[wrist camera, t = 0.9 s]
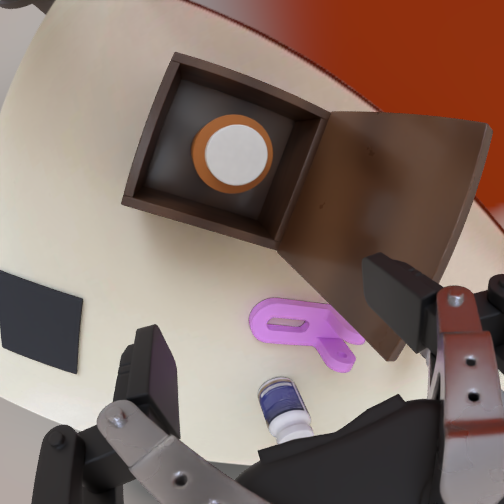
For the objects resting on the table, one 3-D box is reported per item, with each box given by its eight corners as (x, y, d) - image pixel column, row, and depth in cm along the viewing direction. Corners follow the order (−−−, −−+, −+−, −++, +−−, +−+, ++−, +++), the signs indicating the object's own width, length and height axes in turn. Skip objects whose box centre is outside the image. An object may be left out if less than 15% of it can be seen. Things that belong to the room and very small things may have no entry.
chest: (134, 190, 29) (120, 204, 23) (176, 71, 26) (174, 51, 19) (259, 227, 34) (278, 251, 27) (301, 117, 30) (332, 113, 24)
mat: (3, 345, 31) (2, 347, 31) (-1, 269, 28) (-2, 271, 28) (77, 372, 35) (76, 374, 35) (83, 298, 32) (81, 300, 32)
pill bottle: (248, 394, 42) (265, 448, 33) (276, 370, 41) (298, 423, 32) (276, 407, 44) (295, 456, 35) (302, 384, 43) (327, 433, 34)
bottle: (182, 168, 29) (181, 183, 19) (202, 114, 28) (211, 100, 18) (236, 185, 31) (262, 208, 21) (256, 133, 29) (292, 131, 19)
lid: (386, 362, 14) (395, 361, 14) (487, 122, 10) (493, 131, 11) (276, 252, 26) (284, 254, 27) (331, 111, 23) (338, 115, 23)
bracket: (348, 306, 40) (374, 335, 33) (333, 341, 41) (356, 372, 35) (255, 294, 36) (271, 328, 30) (243, 334, 38) (256, 371, 31)
